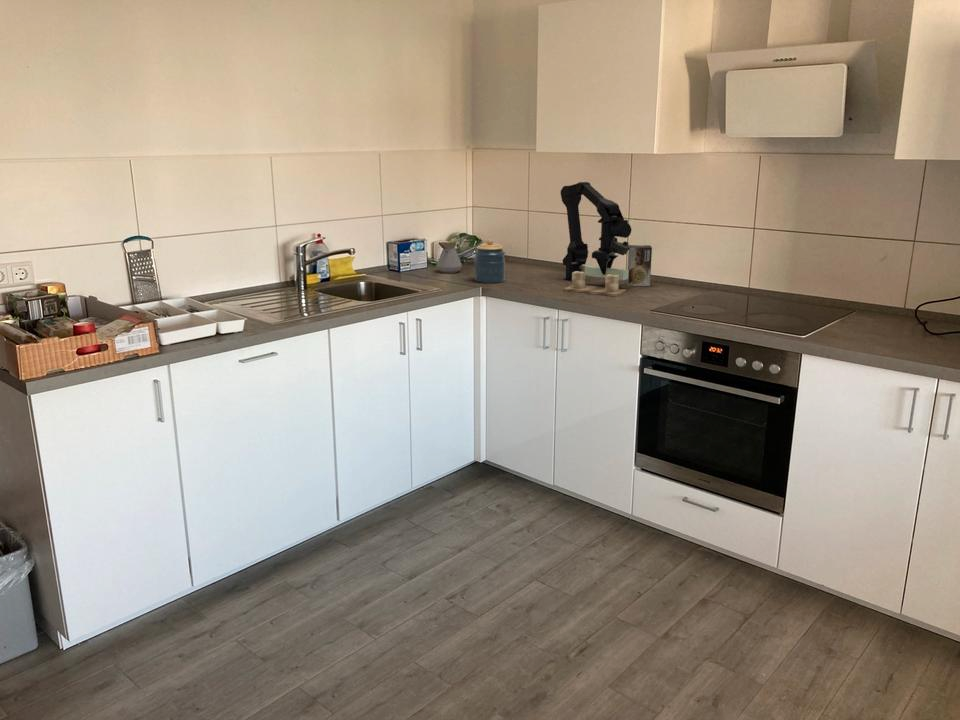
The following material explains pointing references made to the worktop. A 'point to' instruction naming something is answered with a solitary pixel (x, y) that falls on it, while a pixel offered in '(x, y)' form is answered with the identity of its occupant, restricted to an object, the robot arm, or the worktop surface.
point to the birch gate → (608, 290)
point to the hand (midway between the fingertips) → (606, 273)
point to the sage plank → (597, 272)
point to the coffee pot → (448, 259)
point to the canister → (489, 263)
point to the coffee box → (639, 265)
